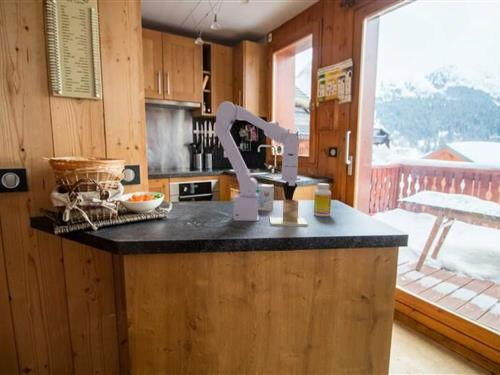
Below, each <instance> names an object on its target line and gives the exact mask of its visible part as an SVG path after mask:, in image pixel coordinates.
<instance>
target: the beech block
mask: <svg viewBox="0 0 500 375" xmlns="http://www.w3.org/2000/svg"><path fill="white" fill-rule="evenodd" d="M282 201H283V203H282V204H283V205H282V217H283V221H284V222H298V218H299V200H298V199H292V200H286V199H285V198H283V200H282Z"/></svg>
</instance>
